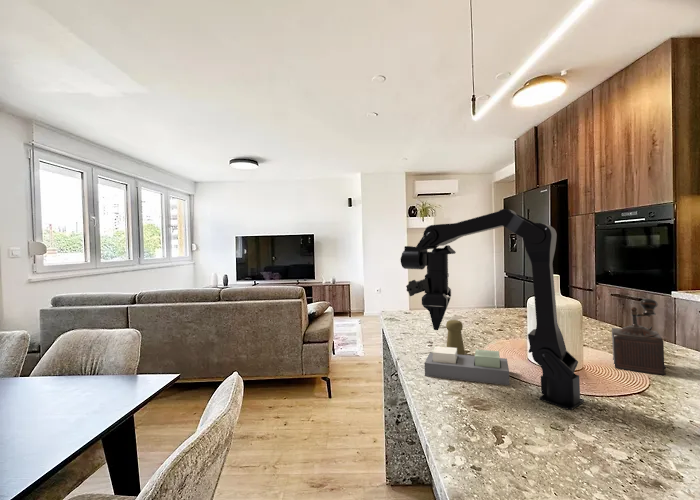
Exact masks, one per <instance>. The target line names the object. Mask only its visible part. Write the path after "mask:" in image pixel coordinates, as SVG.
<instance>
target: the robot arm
mask: <svg viewBox="0 0 700 500" xmlns="http://www.w3.org/2000/svg"><path fill="white" fill-rule="evenodd" d="M503 227H505V228H506V229H508V230H509V231H511V232H512V233H513V234H515V235H517V236H519V237H520V238H522V241H523V244H524V248H525V250H526V251H525V252H526V255H527V256H528V259H529V261H530V263H531V272H532V285H533V296H534V298H533V299H534V308H535V320H536V321H535V323H536V326H535V328H534V329H532V330H531V331H530V332H529V333H527V338H528V342H529V349H528V353H529V354H531V355H532V358H533V360H534V362H535V363H537V364H538V365H539V366H540V369H541V370H542V375H541V376H540V393H541V395H540V396H539V400H541V401H543V402H546V403H549V404H552V405H554V406H558V407H561V408H563V409H566V410H570V411H571V410H572V411H573V409H575V408H576V407H579V406H580V405H581V404H583V403H585V399H584V398H581V389H580V388H581V387H580V383H581V382H580V381H581V380H580V375H579V374H576V373H575V371H576V368H577V367H578V364H579V361H578V360H577V359H576V358H575V357H574V356H573V355H572V354H571V353H570V352H569V351H568V350H567V346H566V344H565V341H564V340H565V339H564V336H563V333H562V331H561V328H560V327H559V324H558V316H557V303H556V289H555V279H554V278H555V277H554V267H553V266H554V265H553V264H554V263H553V261H554V257H555V252H556V247H557V246H556V245H557V236H558V235H557V231H556V229H555V228H554V227H553V226H552V225H549V224H546V223H541V222H534V221H532V220H531V219H528V218H526V217H523V216H522V215H520V214H518V213H516V212H515V211H514V210H513V209H512V210H511V209H507V208H502V209H500V210H498V211H494V212H492V213H487V214H484V215H481V216H477V217H473V218H470V219H467V220H461V221H458V222H455V223H440V224H431V225H428V226H426V227H425V229H424V231H423V233H422V234H423V235H422V237H421V238H420V240H419V242H418V243H417V245H416V246H413V245H410V246H409V245H406V246H404V248H403V249H404V250H403V251H402V252H401V257H400V264H401V267H402V268H403V269H405V270H406V269H407V270H424V269H425V268H426V273H425V275H424V278H423V279H420V280H416V279H413V280H410V281H408V284H407V285H406V286H405V287H406V292H407V293H408V295H409V297H412V296H414V295H416V294H417V295H418V294H419V293H422V292H424V295H422V297H421V305H422V307H423V308H424V309H426V310H427V311H428V312H429V315H430V319H431V323H432V327H433V330H434V331H439V329H440V326H441V323H442V322H443V319H444V316H445V313H446V311H447V309H448V305H449V303H450V300H451V297H452V288H451V287H449V275H450V273H449V255H454V254H456V252H457V251H456V250H454V249H453V248H452V247H451V246H450V245H448V244H451V243H453V242H455V241H457V240H458V239H460V238H463V237H466V236H470V235H474V234H479V233H483V232H487V231H490V230H495V229H499V228H503ZM439 246H440V247H439ZM441 246H442V247H441ZM428 250H431V251H428Z"/></svg>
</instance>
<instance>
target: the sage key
mask: <svg viewBox="0 0 700 500" xmlns="http://www.w3.org/2000/svg"><path fill="white" fill-rule="evenodd" d="M474 356H475V366H483V367H493V368H500V358H501V357H500V351H499V350H488V349H475V352H474Z"/></svg>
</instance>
